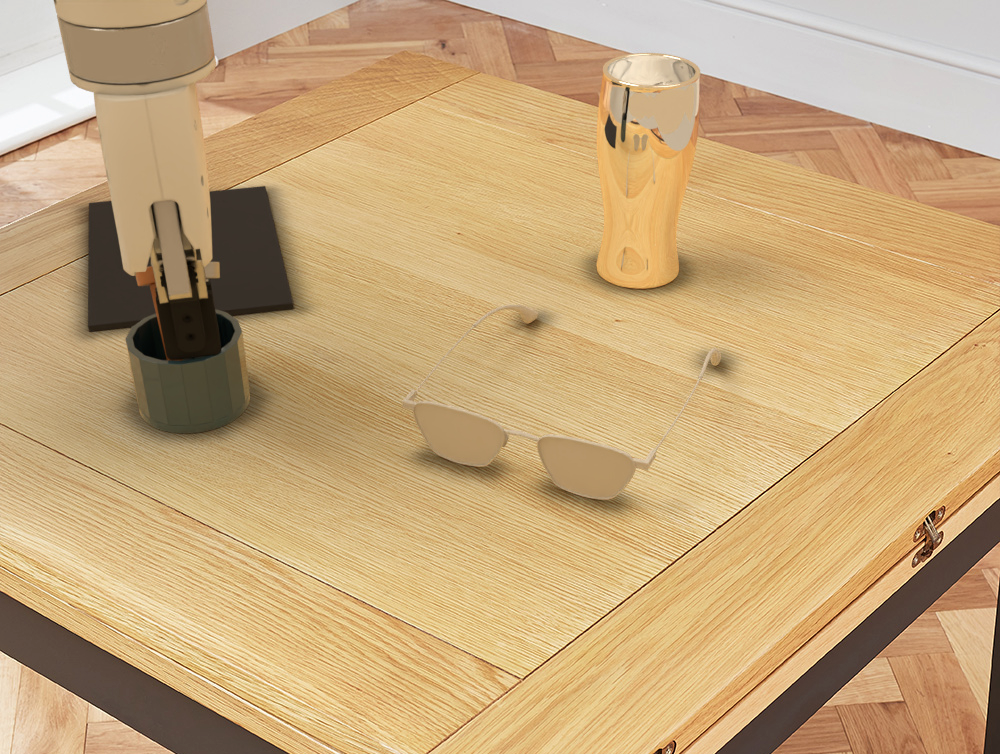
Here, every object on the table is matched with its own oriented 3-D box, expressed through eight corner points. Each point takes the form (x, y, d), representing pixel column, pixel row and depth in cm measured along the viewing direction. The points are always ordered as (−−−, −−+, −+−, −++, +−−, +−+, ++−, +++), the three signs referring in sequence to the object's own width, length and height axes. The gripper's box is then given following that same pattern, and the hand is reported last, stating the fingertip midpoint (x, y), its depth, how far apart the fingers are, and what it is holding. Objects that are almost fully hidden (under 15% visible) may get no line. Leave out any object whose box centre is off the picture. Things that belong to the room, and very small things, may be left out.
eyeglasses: (401, 450, 81) (398, 394, 79) (520, 314, 94) (521, 262, 92) (643, 515, 76) (648, 457, 74) (734, 362, 89) (740, 309, 87)
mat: (293, 309, 95) (293, 302, 95) (89, 332, 92) (87, 325, 92) (266, 191, 110) (265, 185, 110) (89, 208, 108) (88, 202, 108)
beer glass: (575, 280, 98) (583, 77, 89) (611, 241, 103) (621, 45, 94) (665, 300, 96) (683, 94, 87) (697, 259, 101) (717, 60, 92)
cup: (118, 400, 86) (105, 331, 83) (212, 362, 89) (202, 295, 86) (175, 447, 82) (163, 376, 79) (271, 405, 85) (262, 337, 82)
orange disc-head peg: (207, 388, 86) (179, 262, 84) (193, 392, 83) (164, 263, 82) (172, 395, 86) (144, 270, 85) (157, 399, 84) (127, 271, 82)
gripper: (68, 7, 75) (129, 300, 86) (59, 100, 63) (131, 426, 74) (204, -5, 76) (247, 286, 87) (220, 84, 65) (268, 407, 76)
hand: (194, 349), depth 81 cm, fingers closed
